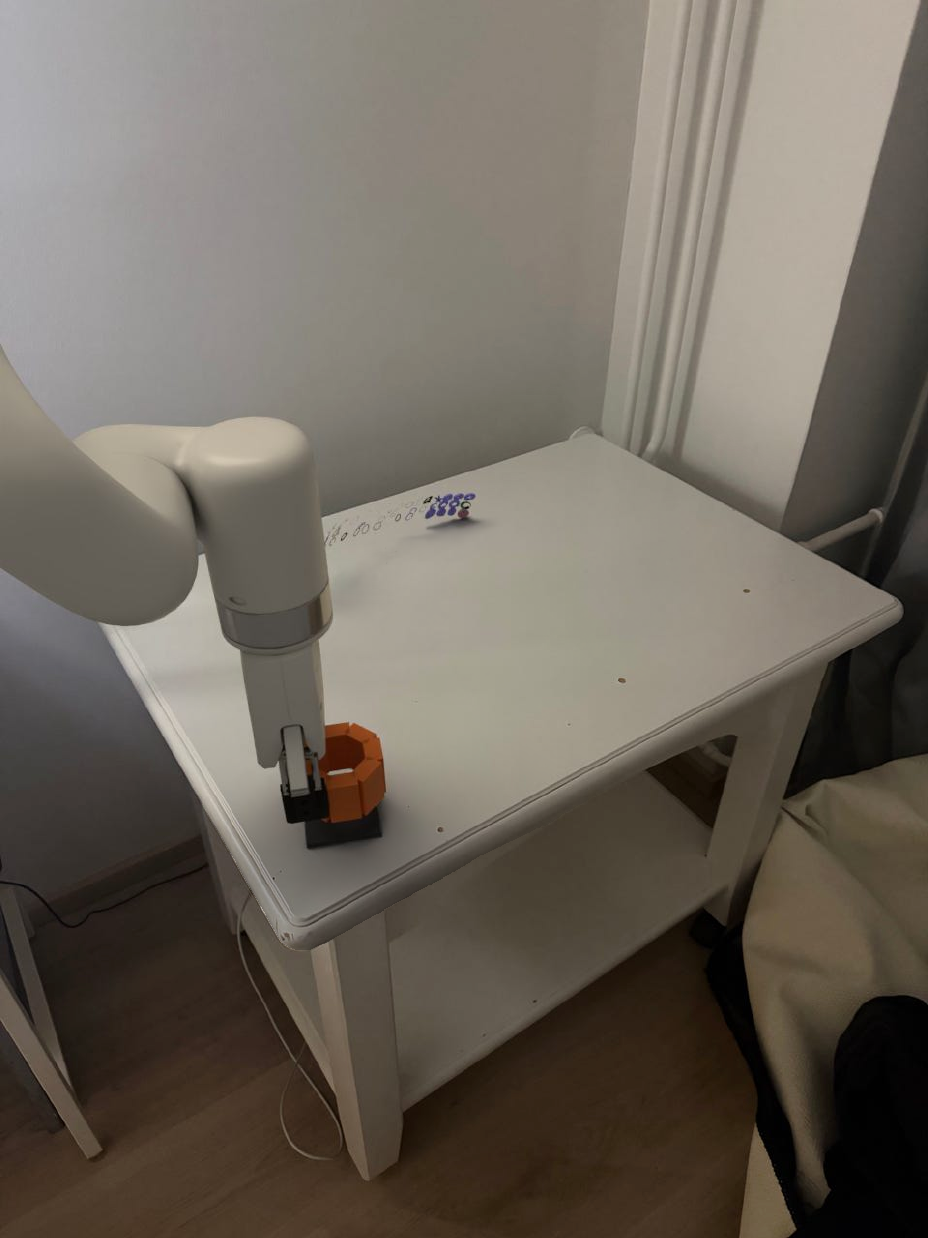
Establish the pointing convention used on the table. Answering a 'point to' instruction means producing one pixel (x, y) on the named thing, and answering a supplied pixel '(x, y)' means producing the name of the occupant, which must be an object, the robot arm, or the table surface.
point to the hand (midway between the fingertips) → (304, 781)
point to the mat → (342, 830)
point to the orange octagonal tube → (354, 788)
